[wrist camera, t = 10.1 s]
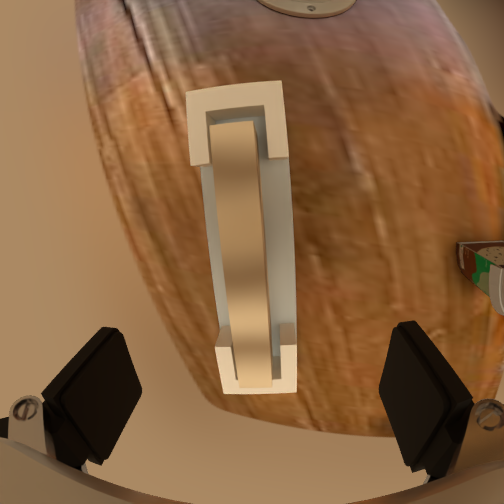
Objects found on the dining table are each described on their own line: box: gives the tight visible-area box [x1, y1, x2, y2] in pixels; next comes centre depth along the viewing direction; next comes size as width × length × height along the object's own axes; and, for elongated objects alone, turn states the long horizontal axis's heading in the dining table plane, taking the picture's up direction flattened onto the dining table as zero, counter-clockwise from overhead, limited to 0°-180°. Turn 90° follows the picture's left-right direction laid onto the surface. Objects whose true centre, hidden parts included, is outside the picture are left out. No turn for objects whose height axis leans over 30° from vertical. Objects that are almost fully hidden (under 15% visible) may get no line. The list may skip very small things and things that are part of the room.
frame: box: [186, 81, 297, 394], centre depth 25 cm, size 30×8×5 cm, turn 5°
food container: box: [456, 241, 504, 316], centre depth 21 cm, size 12×6×10 cm, turn 94°
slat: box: [209, 121, 273, 388], centre depth 23 cm, size 22×3×6 cm, turn 5°
